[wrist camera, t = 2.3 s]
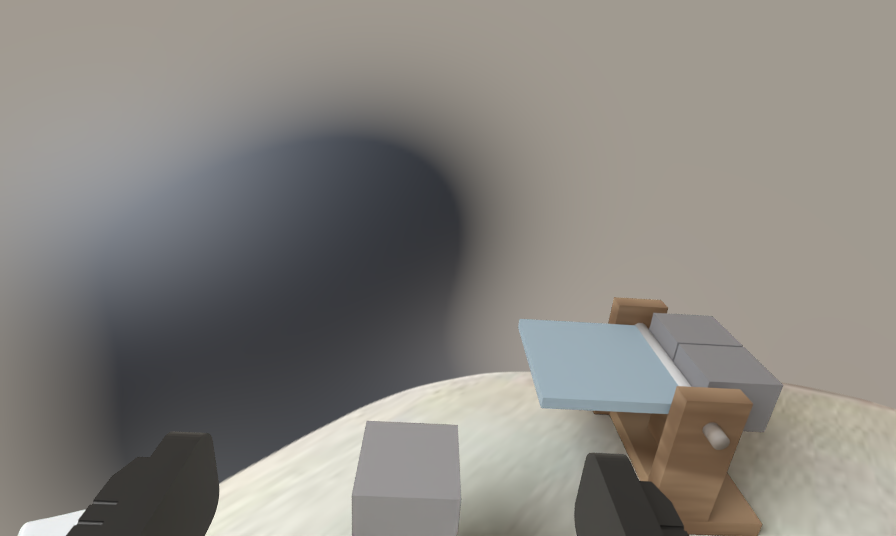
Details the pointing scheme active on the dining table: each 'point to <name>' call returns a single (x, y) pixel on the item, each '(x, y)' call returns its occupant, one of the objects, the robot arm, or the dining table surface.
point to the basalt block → (407, 480)
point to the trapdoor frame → (688, 445)
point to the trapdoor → (642, 365)
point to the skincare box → (51, 525)
